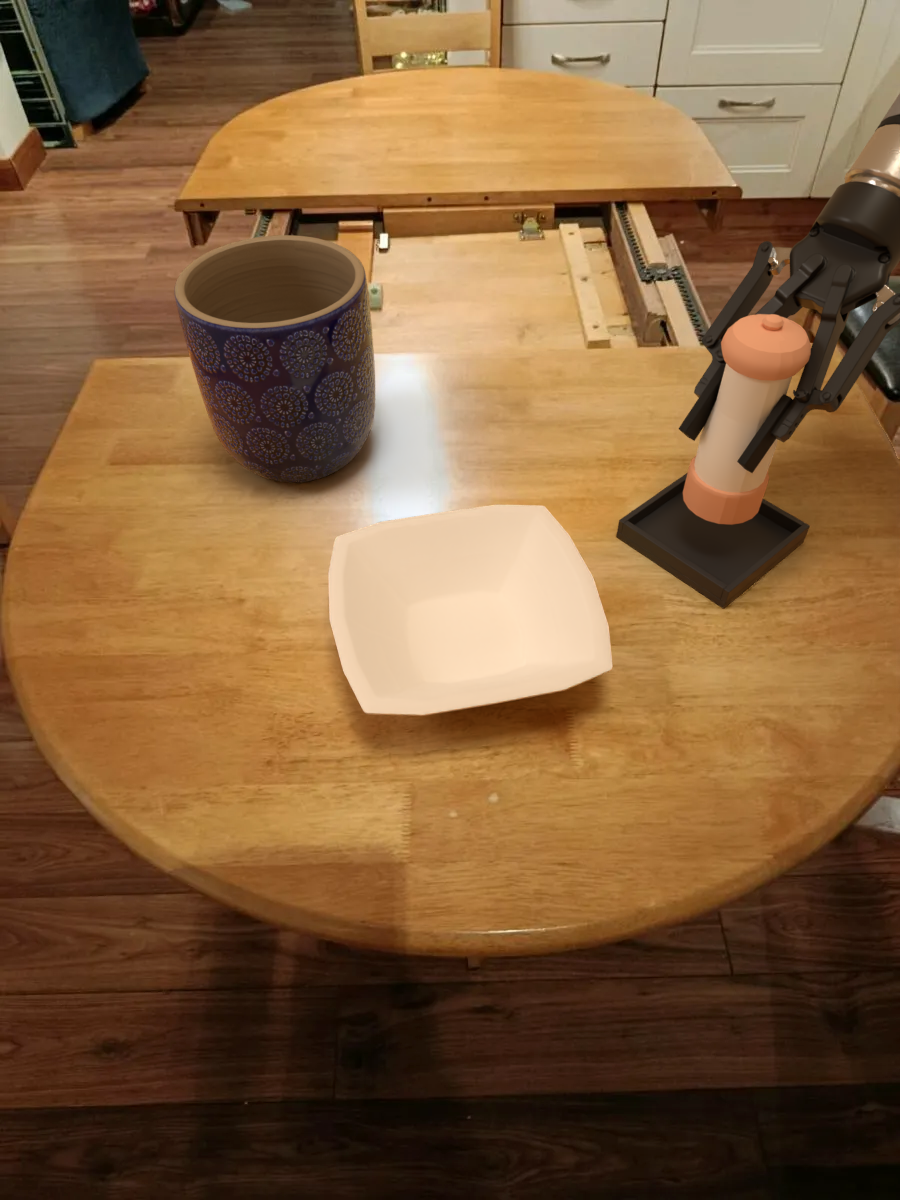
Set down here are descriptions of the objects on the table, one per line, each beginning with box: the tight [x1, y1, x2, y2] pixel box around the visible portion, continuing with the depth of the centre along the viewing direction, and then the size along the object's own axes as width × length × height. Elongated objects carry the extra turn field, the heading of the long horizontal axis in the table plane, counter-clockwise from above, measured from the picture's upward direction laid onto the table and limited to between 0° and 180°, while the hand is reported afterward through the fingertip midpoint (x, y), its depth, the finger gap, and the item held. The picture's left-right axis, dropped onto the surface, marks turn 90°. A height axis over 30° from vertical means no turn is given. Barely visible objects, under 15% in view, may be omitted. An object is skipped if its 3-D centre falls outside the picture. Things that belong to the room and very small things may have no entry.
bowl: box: [327, 503, 614, 717], centre depth 75 cm, size 22×23×6 cm
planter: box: [173, 234, 376, 483], centre depth 88 cm, size 18×18×21 cm
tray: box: [615, 472, 811, 609], centre depth 85 cm, size 13×13×2 cm
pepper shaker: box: [683, 313, 812, 525], centre depth 74 cm, size 7×7×19 cm
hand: (715, 450), depth 74 cm, fingers closed on pepper shaker, 5 cm apart
